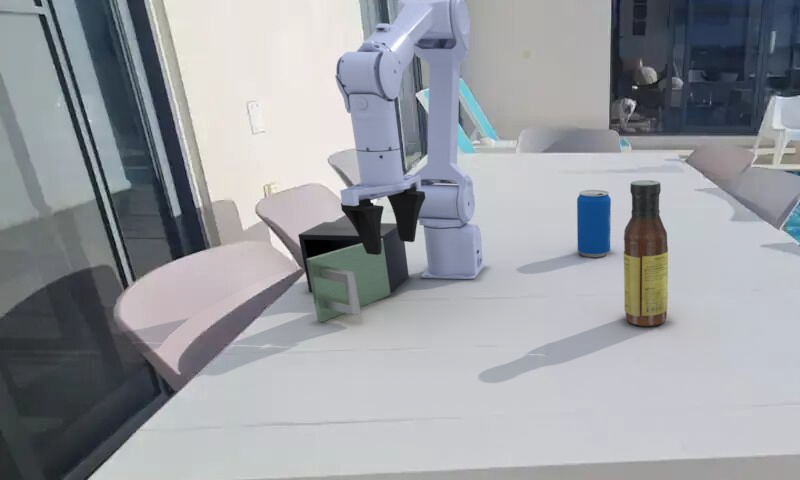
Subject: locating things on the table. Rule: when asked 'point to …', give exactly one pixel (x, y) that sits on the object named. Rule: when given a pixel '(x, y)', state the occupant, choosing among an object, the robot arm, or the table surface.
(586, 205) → the beverage can
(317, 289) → the machine door
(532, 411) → the table surface
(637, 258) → the sauce bottle
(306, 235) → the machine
